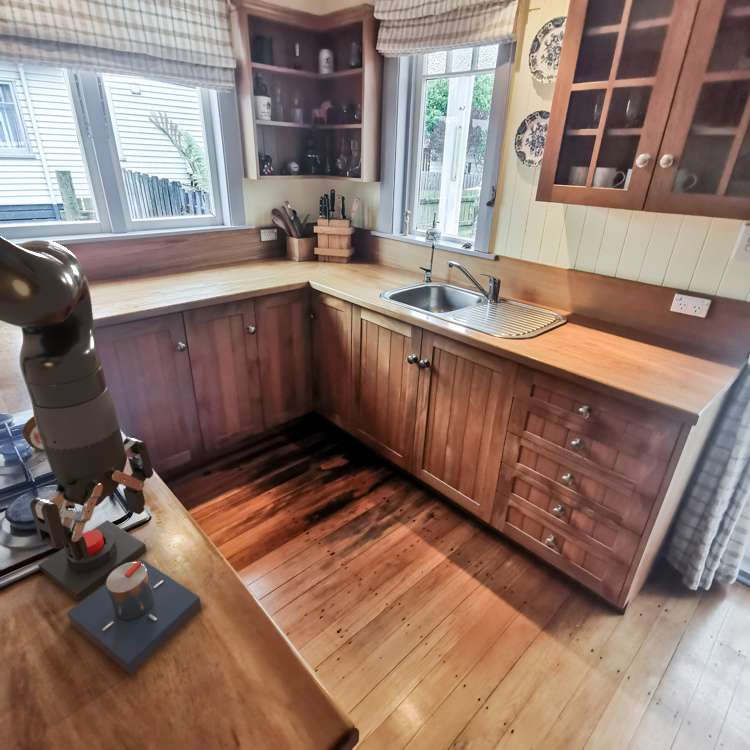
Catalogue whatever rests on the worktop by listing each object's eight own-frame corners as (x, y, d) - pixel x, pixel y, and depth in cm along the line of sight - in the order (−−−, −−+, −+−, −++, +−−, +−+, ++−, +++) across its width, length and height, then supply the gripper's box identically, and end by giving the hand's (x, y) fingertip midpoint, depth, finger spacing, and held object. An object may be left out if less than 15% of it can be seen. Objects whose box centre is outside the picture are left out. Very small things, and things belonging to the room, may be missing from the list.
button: (72, 550, 71) (69, 541, 70) (95, 535, 74) (92, 526, 73) (86, 560, 69) (83, 551, 69) (109, 544, 72) (106, 536, 71)
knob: (135, 625, 61) (126, 595, 58) (106, 614, 62) (96, 584, 60) (161, 595, 65) (154, 565, 63) (133, 585, 66) (125, 556, 64)
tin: (106, 426, 108) (97, 394, 104) (110, 431, 106) (102, 399, 102) (29, 452, 98) (16, 418, 94) (32, 459, 96) (20, 424, 92)
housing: (42, 574, 71) (34, 555, 69) (110, 529, 80) (105, 511, 78) (80, 605, 67) (73, 586, 65) (147, 553, 75) (143, 535, 74)
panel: (72, 627, 64) (66, 612, 62) (144, 571, 72) (140, 556, 71) (132, 678, 58) (127, 662, 57) (202, 611, 67) (199, 596, 65)
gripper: (45, 472, 45) (84, 587, 52) (154, 404, 57) (174, 505, 64) (-10, 454, 47) (36, 566, 54) (107, 392, 59) (131, 490, 67)
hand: (111, 533), depth 59 cm, fingers open, 8 cm apart
